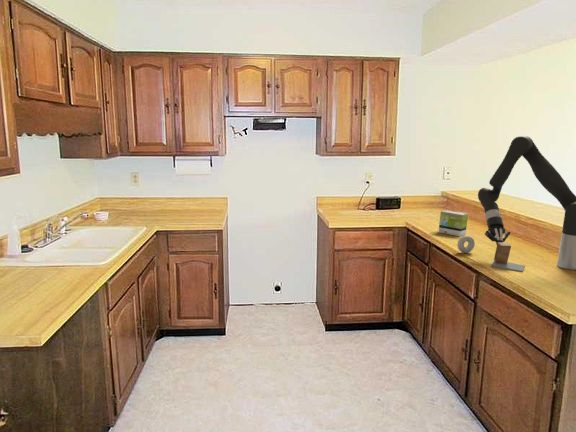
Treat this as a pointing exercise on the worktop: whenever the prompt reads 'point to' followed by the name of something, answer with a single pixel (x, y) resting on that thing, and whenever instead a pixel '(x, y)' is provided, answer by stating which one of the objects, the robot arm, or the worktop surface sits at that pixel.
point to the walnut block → (502, 253)
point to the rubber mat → (509, 266)
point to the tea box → (453, 223)
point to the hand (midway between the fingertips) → (500, 247)
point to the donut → (470, 244)
